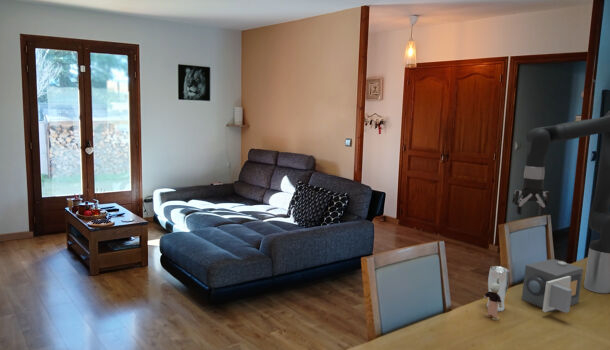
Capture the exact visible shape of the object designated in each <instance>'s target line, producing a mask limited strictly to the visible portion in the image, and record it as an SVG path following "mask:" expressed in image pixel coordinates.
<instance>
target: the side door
mask: <svg viewBox="0 0 610 350" xmlns="http://www.w3.org/2000/svg"><path fill="white" fill-rule="evenodd" d="M570 281H571V276H566V277H562V278H559V279H555V280H551V281H548V282H546V287H545V295H544V303H543V308H542V312H543V313H547V312H551V311H550V310H553V309H557V310H556V311H560V312H563V313H569V312H570V309H571V305H570V303H571V296H572V290H571V289H570Z"/></svg>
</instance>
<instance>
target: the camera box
mask: <svg viewBox="0 0 610 350" xmlns="http://www.w3.org/2000/svg"><path fill="white" fill-rule="evenodd" d="M524 269H525V270H524V277H523V284H522V285H523V286H522V292H521V293H522V294H521V300H522V301H524V302H528V303H530V304H533V306H536V305H537V307H539V308H541V309H543V303H544V295H545V287H546V282H548V281H551V280H555V279H559V278H562V277H566V276H571V281H570V289H571V290H572V296H571V303H570V306H573V305H576V304H578V303H579V301H580V295H581V294H580V293H581V288H582V287H581V286H582V279H583V272H584V267H581V266H576V265H574V264H572V263H567V261H566V262H565V261H564V260H559V259H555V258H550V259H545V260H542V261H538V262H532V263H529V264H525V268H524ZM555 311H558V310H557V309H553V310H550V311H549V312H551V313H552V312H555Z"/></svg>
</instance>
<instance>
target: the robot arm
mask: <svg viewBox="0 0 610 350" xmlns="http://www.w3.org/2000/svg"><path fill="white" fill-rule="evenodd" d="M597 134H598V135H600V134H602V144H601V152H600V157H599V162H598V170H597V179H596V184H595V190H594V196H593V199H592V200H593V201H592V204H591V208H590V212H589V216H588V227H589V228H590V229H591V231H594V232H596V233H600V235H599V236H600V237H599V239H595V240H594V239H593V240H590V243H589V248H588V255H587V261H586V270H585V275H584V281H583V288H584V289H586V290H588V291H590V292H594V293H597V294H609V293H610V211H609V209H610V208H609V207H610V110H608V112H606V114H605V115H604V116H601V117H596V118H590V119H580V120H572V121H568V122H563V123H558V124H554V125H550V126H549V125H548V126H541V127H535V128H532V129H530V130H529V131H528V132H527V133H526V135H525V136H526V137H525V139H526V141H527V143H528V144H529V145H530V149H529V152H528V153H527V154H526V156H525V157H526V158H525V159H526V160H525V166H524V171H523V178H522V189H521V190H518V189H514V190H513V195H512V199H511V200H512V201H511V203H512V204H513V205H515V206H516V210H515V211H516V214H517V216H521V215H522V209H523V205H524V204H526V202H534V203H535V202H536V203H538V205H539V206H538V213H537V214H538V216H540V217H543V216H544V214H545V208H546V207H549V206H550V205H551V192H550V191H548V190H545V191H543V189H544V180H545V164H546V158H547V157H546V156H547V153H548V150H549V148H550V145H551V143H552V142H565V141H569V140H574V139H579V138H584V137H588V136H594V135H597ZM519 196H521V197H520V198H519ZM541 197H544V198H543V199H544V200H543V199H542V198H541Z"/></svg>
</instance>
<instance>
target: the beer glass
mask: <svg viewBox="0 0 610 350" xmlns="http://www.w3.org/2000/svg"><path fill="white" fill-rule="evenodd" d="M487 279H488V280H487V287H488V292H492V291H491V289H489V287H490V285H491V284H493V283H498V284H499V286H500V287H499V291H498V292H497V294H498V295H499V296H500V298H501V301H502V308H500V307H499V304H498V310H497V312H503V311H505V299H506V298H505V297H506V295H507V292H508V289H509V285H510V284H509V283H510V269H509V268H506V267H503V266H499V265H498V266H497V265H494V266H493V265H492V266H490V268H489V273H488V278H487ZM488 304H489V299H488V301H487V303H486V308H488Z"/></svg>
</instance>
